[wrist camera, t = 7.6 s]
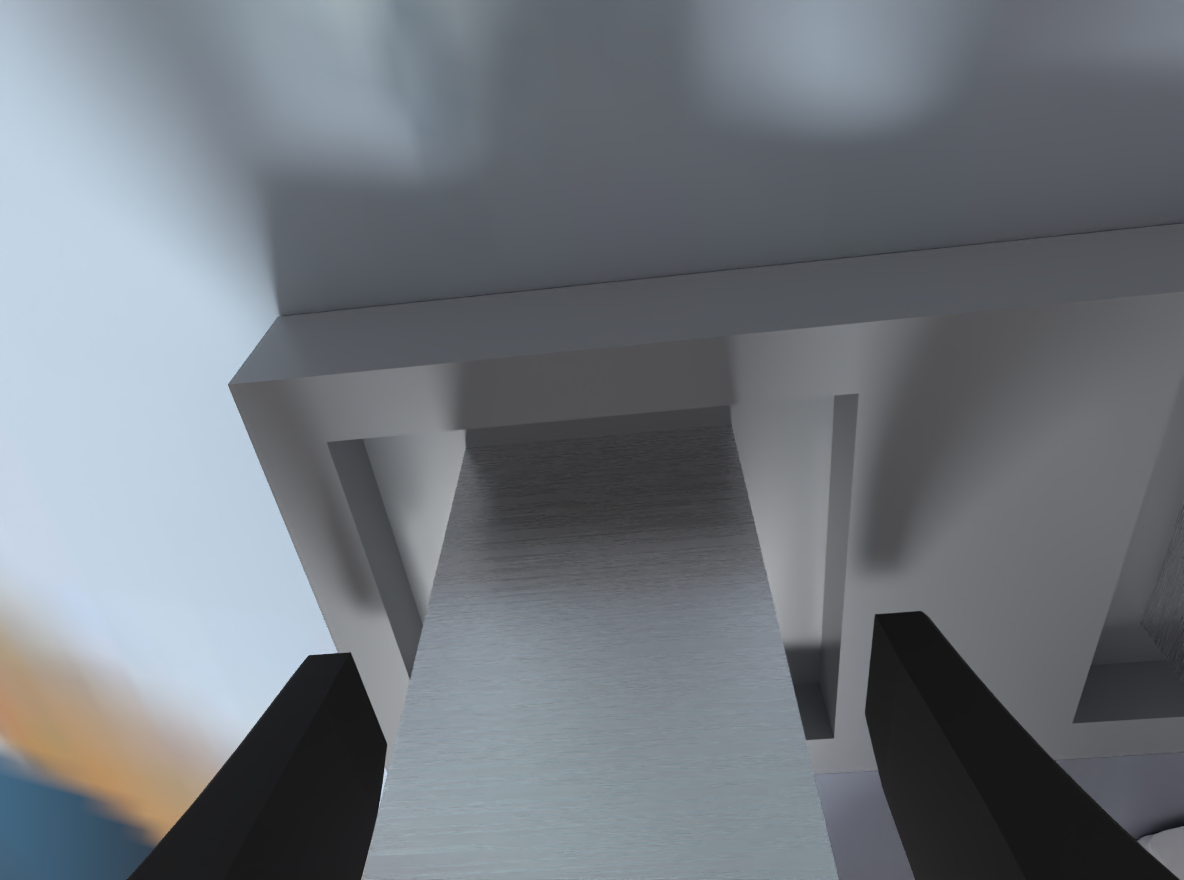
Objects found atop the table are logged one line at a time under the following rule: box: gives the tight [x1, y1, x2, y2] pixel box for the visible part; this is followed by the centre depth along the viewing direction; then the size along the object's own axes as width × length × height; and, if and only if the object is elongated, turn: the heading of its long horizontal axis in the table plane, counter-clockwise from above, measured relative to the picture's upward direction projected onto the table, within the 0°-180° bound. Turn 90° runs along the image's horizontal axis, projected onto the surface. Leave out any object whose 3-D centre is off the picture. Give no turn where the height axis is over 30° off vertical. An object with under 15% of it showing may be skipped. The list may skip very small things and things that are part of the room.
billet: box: [362, 425, 839, 880], centre depth 11 cm, size 5×4×7 cm
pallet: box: [228, 223, 1184, 774], centre depth 13 cm, size 9×20×2 cm, turn 97°
